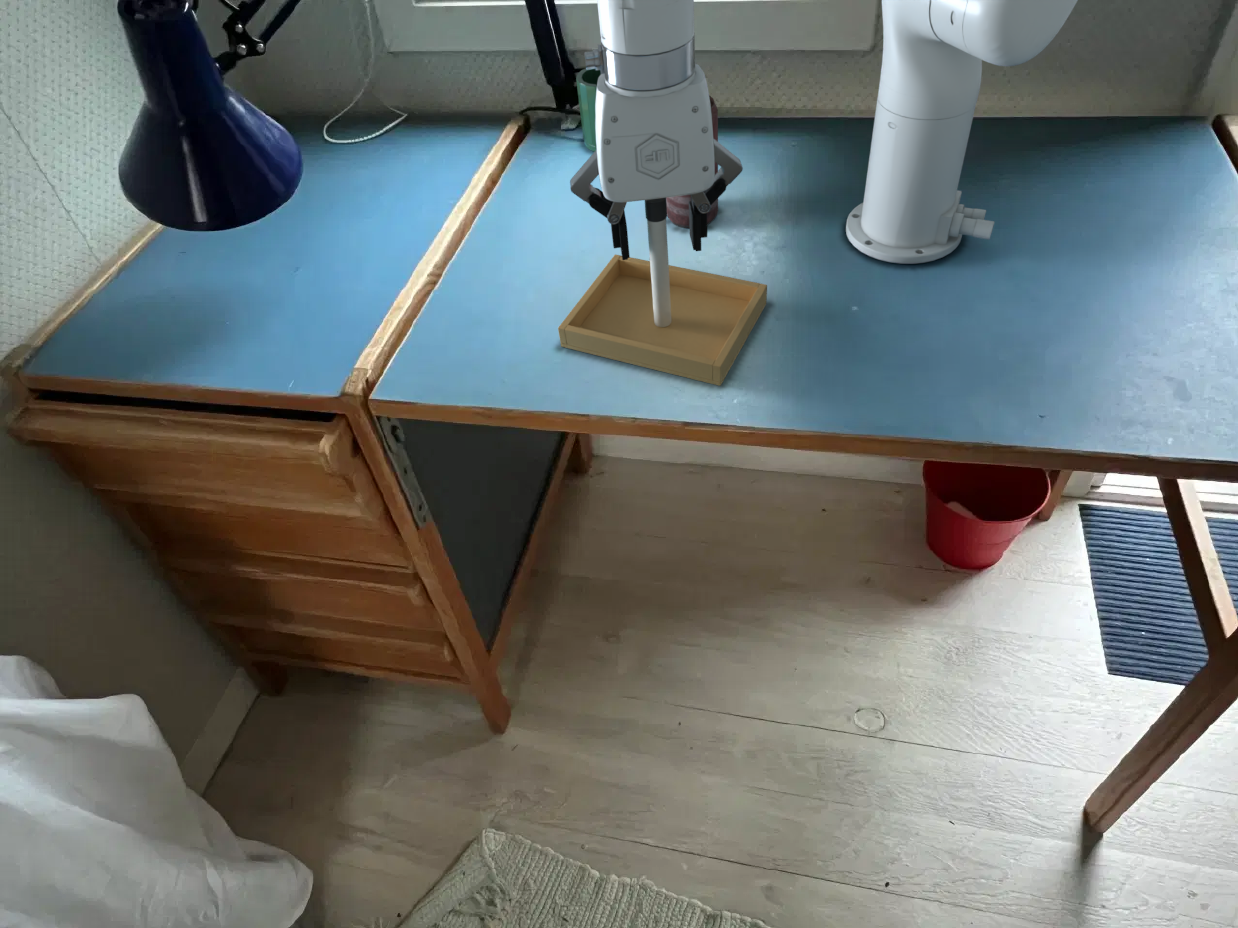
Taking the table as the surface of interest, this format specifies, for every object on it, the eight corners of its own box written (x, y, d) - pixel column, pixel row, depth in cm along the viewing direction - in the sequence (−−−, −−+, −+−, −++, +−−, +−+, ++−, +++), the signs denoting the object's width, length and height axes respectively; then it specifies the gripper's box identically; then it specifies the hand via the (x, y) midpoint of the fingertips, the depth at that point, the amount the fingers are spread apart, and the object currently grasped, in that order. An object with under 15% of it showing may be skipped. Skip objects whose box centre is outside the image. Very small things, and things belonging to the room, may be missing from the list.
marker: (675, 318, 91) (669, 193, 81) (667, 329, 90) (660, 204, 79) (657, 314, 92) (649, 190, 81) (650, 325, 91) (640, 201, 80)
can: (662, 230, 103) (655, 116, 93) (672, 201, 107) (667, 88, 97) (713, 233, 102) (712, 117, 92) (721, 203, 106) (721, 90, 96)
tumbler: (640, 132, 120) (635, 67, 113) (619, 156, 116) (613, 89, 109) (597, 126, 122) (590, 61, 116) (576, 149, 118) (567, 83, 112)
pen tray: (766, 304, 92) (767, 284, 90) (720, 386, 84) (720, 366, 83) (616, 272, 98) (614, 254, 97) (560, 346, 90) (557, 327, 89)
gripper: (544, 93, 69) (573, 281, 82) (763, 66, 69) (756, 259, 82) (542, 53, 74) (569, 237, 87) (746, 28, 74) (742, 216, 87)
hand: (660, 246), depth 84 cm, fingers open, 6 cm apart
